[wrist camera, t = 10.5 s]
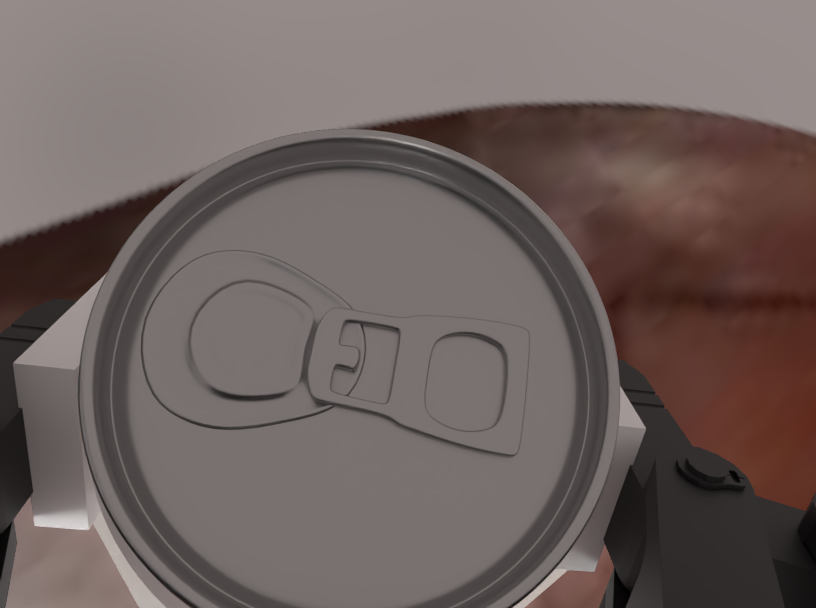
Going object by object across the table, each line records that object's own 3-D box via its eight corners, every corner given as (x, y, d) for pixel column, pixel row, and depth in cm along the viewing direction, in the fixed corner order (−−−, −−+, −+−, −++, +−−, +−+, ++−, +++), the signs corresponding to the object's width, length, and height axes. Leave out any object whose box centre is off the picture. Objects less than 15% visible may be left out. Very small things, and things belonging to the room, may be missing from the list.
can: (240, 337, 19) (146, 41, 8) (455, 379, 19) (663, 162, 8) (176, 575, 16) (-97, 657, 5) (423, 615, 17) (656, 766, 6)
